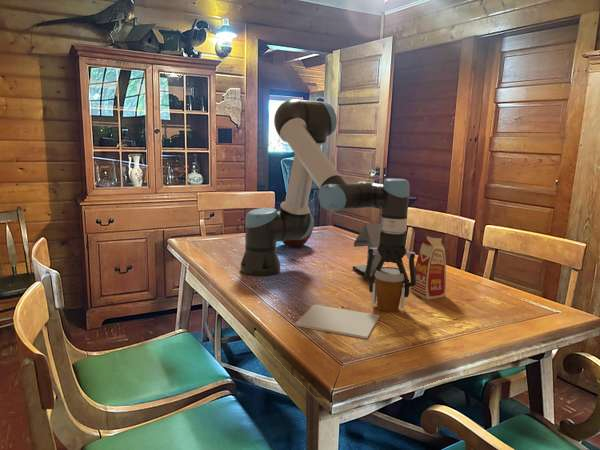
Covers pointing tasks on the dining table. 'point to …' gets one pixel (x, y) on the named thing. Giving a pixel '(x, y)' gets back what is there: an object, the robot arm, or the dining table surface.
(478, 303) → the dining table surface
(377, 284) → the disposable coffee cup
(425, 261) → the milk carton
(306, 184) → the robot arm
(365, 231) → the folded metal stand
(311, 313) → the grey mat
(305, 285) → the dining table surface
